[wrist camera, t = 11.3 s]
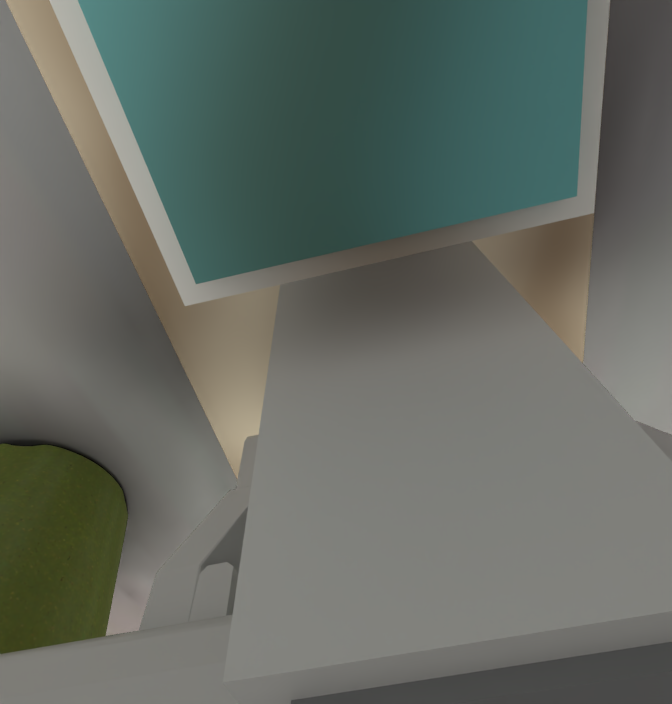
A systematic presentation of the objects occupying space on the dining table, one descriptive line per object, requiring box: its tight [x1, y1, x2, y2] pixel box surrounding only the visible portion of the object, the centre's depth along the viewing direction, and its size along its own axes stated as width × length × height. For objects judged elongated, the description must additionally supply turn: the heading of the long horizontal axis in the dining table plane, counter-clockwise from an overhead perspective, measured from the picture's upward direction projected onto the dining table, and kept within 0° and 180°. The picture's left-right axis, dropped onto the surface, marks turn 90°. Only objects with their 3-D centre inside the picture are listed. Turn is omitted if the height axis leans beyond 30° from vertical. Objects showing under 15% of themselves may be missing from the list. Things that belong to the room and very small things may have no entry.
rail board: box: [6, 0, 610, 479], centre depth 13 cm, size 14×26×9 cm, turn 12°
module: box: [223, 241, 672, 704], centre depth 10 cm, size 4×7×10 cm, turn 13°
